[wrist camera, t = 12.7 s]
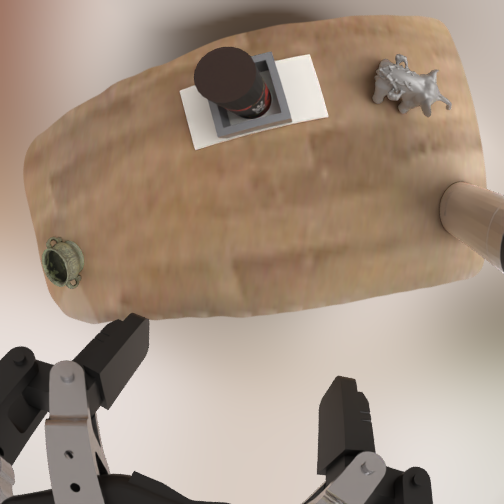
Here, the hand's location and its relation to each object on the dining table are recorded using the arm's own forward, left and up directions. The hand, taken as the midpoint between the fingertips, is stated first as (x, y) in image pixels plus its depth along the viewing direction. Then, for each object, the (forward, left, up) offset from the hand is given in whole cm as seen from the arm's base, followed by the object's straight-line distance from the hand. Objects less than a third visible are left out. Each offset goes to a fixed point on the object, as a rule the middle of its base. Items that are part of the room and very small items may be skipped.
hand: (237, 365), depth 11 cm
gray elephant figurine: (-14, -23, -34) cm, 43 cm away
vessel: (+41, +21, -34) cm, 57 cm away
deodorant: (+8, -14, -33) cm, 36 cm away
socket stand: (+8, -14, -33) cm, 37 cm away
